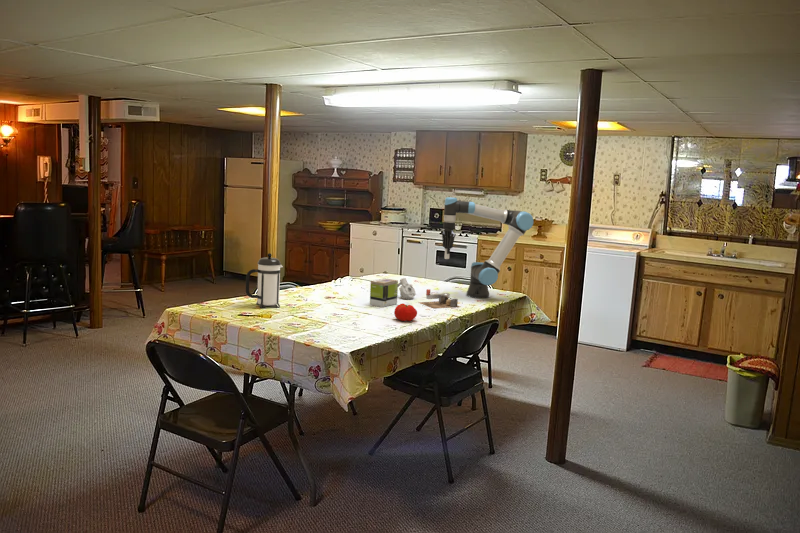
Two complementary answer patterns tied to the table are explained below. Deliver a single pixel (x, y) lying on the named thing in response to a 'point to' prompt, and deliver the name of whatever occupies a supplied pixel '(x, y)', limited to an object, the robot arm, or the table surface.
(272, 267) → the coffee press
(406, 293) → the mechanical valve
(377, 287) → the tea box
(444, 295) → the lever
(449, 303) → the walnut
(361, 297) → the table surface
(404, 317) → the tomato
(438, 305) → the board
